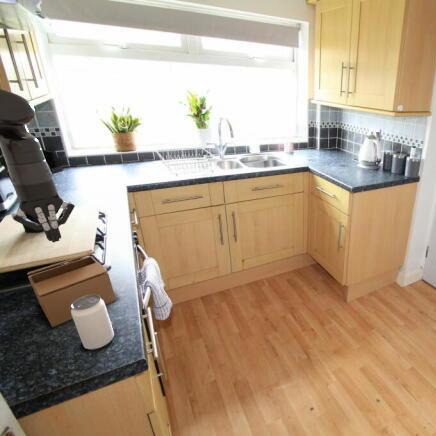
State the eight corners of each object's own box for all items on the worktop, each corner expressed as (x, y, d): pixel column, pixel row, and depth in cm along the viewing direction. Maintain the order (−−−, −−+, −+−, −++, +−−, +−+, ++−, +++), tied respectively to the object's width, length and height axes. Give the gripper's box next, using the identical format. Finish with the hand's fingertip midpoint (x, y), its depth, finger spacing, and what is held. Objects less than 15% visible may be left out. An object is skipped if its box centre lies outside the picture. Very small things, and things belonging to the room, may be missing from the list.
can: (119, 338, 80) (107, 299, 76) (90, 354, 75) (76, 314, 71) (107, 327, 84) (95, 290, 79) (78, 342, 79) (64, 303, 74)
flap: (28, 274, 82) (27, 272, 82) (27, 274, 87) (27, 273, 87) (95, 252, 93) (94, 251, 93) (91, 254, 98) (90, 253, 98)
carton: (52, 327, 83) (38, 295, 79) (39, 303, 91) (26, 273, 87) (116, 300, 94) (107, 270, 89) (99, 281, 102) (91, 253, 98)
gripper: (61, 171, 85) (80, 228, 92) (-7, 181, 76) (20, 244, 83) (69, 176, 81) (88, 237, 88) (-2, 188, 72) (26, 254, 79)
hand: (55, 240), depth 86 cm, fingers closed
